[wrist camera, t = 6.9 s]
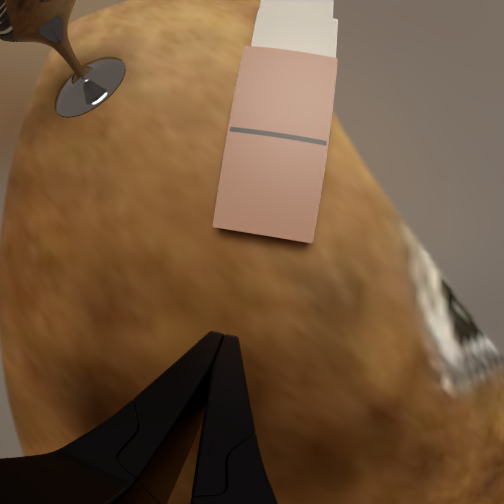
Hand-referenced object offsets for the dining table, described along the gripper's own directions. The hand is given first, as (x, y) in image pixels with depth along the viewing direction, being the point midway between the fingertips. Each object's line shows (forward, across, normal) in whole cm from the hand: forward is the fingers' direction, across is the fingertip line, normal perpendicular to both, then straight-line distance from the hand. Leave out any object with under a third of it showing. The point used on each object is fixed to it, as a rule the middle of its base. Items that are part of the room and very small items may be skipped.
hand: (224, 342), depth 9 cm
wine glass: (+16, +17, -7) cm, 24 cm away
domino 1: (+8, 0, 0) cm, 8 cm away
